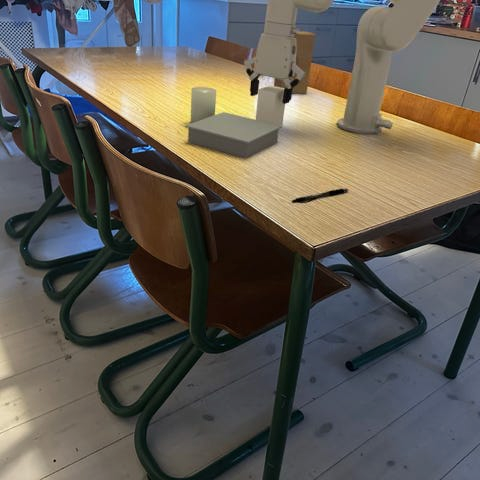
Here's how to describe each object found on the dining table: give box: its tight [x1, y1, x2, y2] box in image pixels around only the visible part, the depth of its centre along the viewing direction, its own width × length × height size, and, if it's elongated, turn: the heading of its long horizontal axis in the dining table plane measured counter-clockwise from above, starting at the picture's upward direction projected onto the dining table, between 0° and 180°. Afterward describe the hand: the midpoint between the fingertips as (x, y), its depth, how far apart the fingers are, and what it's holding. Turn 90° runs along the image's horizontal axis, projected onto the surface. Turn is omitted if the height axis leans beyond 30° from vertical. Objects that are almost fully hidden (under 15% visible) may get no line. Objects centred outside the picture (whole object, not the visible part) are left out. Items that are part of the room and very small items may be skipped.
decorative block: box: [273, 30, 316, 95], centre depth 167 cm, size 11×6×20 cm, turn 110°
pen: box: [291, 188, 349, 204], centre depth 93 cm, size 14×2×1 cm, turn 122°
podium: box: [185, 111, 283, 159], centre depth 117 cm, size 17×17×4 cm
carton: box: [255, 85, 286, 126], centre depth 130 cm, size 5×7×10 cm
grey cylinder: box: [189, 86, 217, 124], centre depth 127 cm, size 6×6×9 cm
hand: (269, 99), depth 129 cm, fingers open, 9 cm apart
